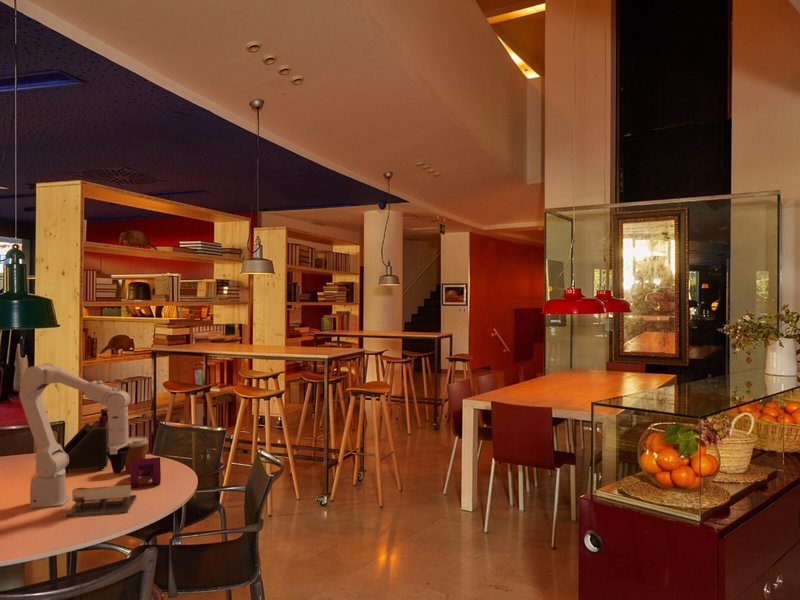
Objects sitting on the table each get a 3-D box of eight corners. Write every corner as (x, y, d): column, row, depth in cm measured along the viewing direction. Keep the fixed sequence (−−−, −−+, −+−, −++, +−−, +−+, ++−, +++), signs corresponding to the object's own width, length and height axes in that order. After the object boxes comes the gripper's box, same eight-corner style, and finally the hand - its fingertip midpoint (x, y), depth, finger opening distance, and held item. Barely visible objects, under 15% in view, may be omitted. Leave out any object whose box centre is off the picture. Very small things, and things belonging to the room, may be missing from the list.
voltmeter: (63, 464, 239) (62, 413, 239) (109, 460, 246) (108, 410, 246) (57, 475, 224) (57, 421, 224) (106, 470, 231) (106, 417, 231)
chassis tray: (65, 517, 181) (65, 508, 181) (79, 502, 194) (79, 493, 194) (127, 512, 184) (127, 503, 184) (136, 498, 198) (136, 489, 198)
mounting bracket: (129, 494, 220) (131, 485, 206) (129, 471, 224) (130, 460, 209) (157, 491, 224) (161, 481, 210) (157, 468, 228) (160, 457, 213)
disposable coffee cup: (142, 474, 225) (141, 442, 225) (116, 474, 225) (116, 442, 225) (152, 467, 234) (152, 436, 234) (127, 467, 234) (127, 436, 234)
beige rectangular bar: (70, 501, 185) (70, 492, 185) (74, 497, 189) (74, 488, 189) (128, 497, 189) (128, 488, 189) (131, 493, 193) (131, 484, 193)
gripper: (127, 433, 189) (127, 476, 189) (136, 423, 203) (136, 464, 203) (102, 434, 188) (102, 478, 188) (113, 425, 202) (113, 466, 202)
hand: (118, 471), depth 195 cm, fingers open, 3 cm apart
